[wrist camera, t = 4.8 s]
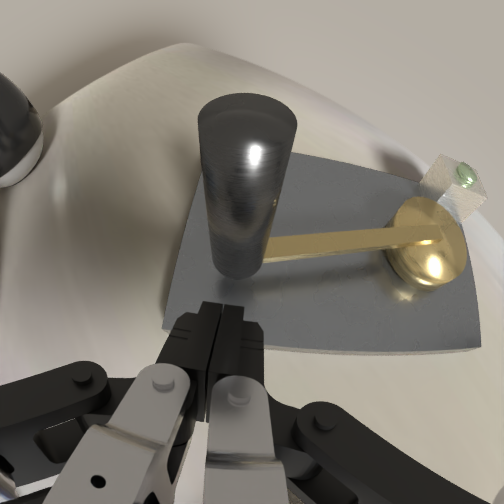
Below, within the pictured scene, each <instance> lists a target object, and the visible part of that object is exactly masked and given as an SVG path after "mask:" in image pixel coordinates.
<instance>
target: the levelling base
mask: <svg viewBox="0 0 504 504" xmlns="http://www.w3.org/2000/svg"><path fill="white" fill-rule="evenodd" d="M418 196H419V197H425V198H429V199H431V200H433V201H435V202H437V203H438V204H440V205H441V206H442V207H444V208H445V209H446V210H447V211H448V212H449V213H450V214H451V215H452V217H453V218H454V219H455V221H456V222H457V224H458V226H459V227H460V229H461V231H462V234H463V236H464V239H465V235H464V231H463V228H462V224H461V223H462V222H463V221H464V220H465V219H467V218H468V217H469V216H470V215H471V214H472V213H473V212H474V211H475V210H476V209H477V208H478V207H479V206H480V205H481V204H482V203H483V202H484V201H485V200H486V199H487V195H486V193H485V190H484V188H483V186H482V183H481V181H480V178H479V176H478V174H477V172H476V170H475V169H473V168H471V167H470V166H469V165H467V164H466V163H464V162H461V163H460V162H458V161H456V160H454V159H451V158H449V157H447V156H444V155H442V154H440V155H439V157H438V158H437V159H436V161H435V162H434V164H433V165H432V166H431V168H430V169H429V170H428V172H427V173H426V174H425V176H424V177H423V178H422V180H421V181H420V182H415V181H412V180H409V179H405V178H402V177H399V176H395V175H392V174H388V173H384V172H381V171H377V170H373V169H369V168H365V167H361V166H357V165H352V164H348V163H344V162H339V161H335V160H330V159H325V158H320V157H315V156H310V155H304V154H299V153H293V152H291V154H290V158H289V162H288V166H287V170H286V174H285V178H284V182H283V186H282V190H281V194H280V198H279V202H278V205H277V209H276V213H275V217H274V221H273V225H272V229H271V233H270V236H269V238H270V237H281V236H292V235H304V234H316V233H327V232H340V231H352V230H365V229H378V228H386V225H387V223H388V222H389V220H390V219H391V218H392V217H393V216H394V214H395V213H396V212H397V211H398V209H399V208H400V207H401V206H402V205H403V203H404V202H405V201H406V200H408V199H409V198H412V197H418ZM465 243H466V239H465ZM466 248H467V261H466V265H465V268H464V270H463V272H462V273H461V274H460V275H459V276H458V277H456V278H455V279H453V280H451V281H450V282H448V283H447V284H445V285H443V286H442V287H440V288H438V289H436V290H434V291H421V290H418V289H416V288H414V287H412V286H410V285H409V284H407V283H406V282H405V281H404V280H403V279H402V278H401V277H400V276H399V275H398V274H397V272H396V271H395V270H394V268H393V267H392V265H391V263H390V261H389V259H388V256H387V253H386V250H385V249H383V250H375V251H367V252H358V253H350V254H341V255H332V256H323V257H314V258H305V259H296V260H287V261H278V262H268V263H262V266H261V268H260V269H259V270H258V271H257V273H255V274H254V275H253V276H251V277H249V278H246V279H241V280H236V279H230V278H227V277H225V276H224V275H222V274H221V273H220V272H219V271H218V270H217V269H216V268H215V266H214V264H213V260H212V253H211V245H210V237H209V229H208V221H207V212H206V203H205V194H204V185H203V175H202V172H201V176H200V179H199V182H198V185H197V189H196V192H195V195H194V199H193V202H192V206H191V209H190V213H189V216H188V220H187V224H186V227H185V231H184V235H183V238H182V242H181V246H180V250H179V254H178V258H177V262H176V266H175V270H174V275H173V279H172V283H171V287H170V292H169V296H168V301H167V306H166V310H165V315H164V320H163V325H162V329H163V330H164V331H166V332H167V333H168V334H170V332H171V330H172V329H173V326H174V324H175V322H176V320H177V318H178V317H180V316H181V315H183V314H184V313H186V312H190V313H196V314H198V311H199V309H200V306H201V304H202V302H203V301H208V302H214V303H221V304H223V308H224V304H228V305H235V306H243V307H245V308H244V317H243V320H244V321H252V322H258V324H259V325H260V327H261V328H262V330H263V331H264V349H271V350H281V351H292V352H304V353H319V354H339V355H423V354H441V353H455V352H466V351H470V350H473V349H476V348H480V347H481V334H480V321H479V311H478V302H477V295H476V288H475V282H474V276H473V271H472V266H471V261H470V256H469V252H468V247H467V243H466Z"/></svg>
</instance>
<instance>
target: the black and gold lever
mask: <svg viewBox="0 0 504 504" xmlns="http://www.w3.org/2000/svg"><path fill="white" fill-rule="evenodd" d="M296 130H297V120H296V117H295V115H294V113H293V112H292V111H291V110H290V109H289V108H288V107H287V106H286V105H284V104H283V103H281V102H280V101H278V100H276V99H273V98H271V97H267V96H264V95H260V94H253V93H235V94H229V95H225V96H221V97H219V98H216V99H214V100H212V101H210V102H209V103H207V104H206V105H205V106H204V107H203V108H202V109H201V111H200V113H199V115H198V131H199V143H200V154H201V165H202V175H203V185H204V194H205V203H206V212H207V221H208V229H209V237H210V245H211V253H212V260H213V264H214V266H215V268H216V269H217V270H218V271H219V272H220V273H221V274H222V275H224V276H225V277H227V278H230V279H236V280H241V279H246V278H249V277H251V276H253V275H254V274H255V273H257V271H258V270H259V269H260V268H261V266H262V263H268V262H278V261H287V260H296V259H305V258H314V257H323V256H332V255H341V254H350V253H358V252H367V251H375V250H383V249H385V250H386V253H387V256H388V259H389V261H390V263H391V265H392V267H393V268H394V270H395V271H396V272H397V274H398V275H399V276H400V277H401V278H402V279H403V280H404V281H405V282H406V283H407V284H409V285H410V286H412V287H414V288H416V289H418V290H421V291H434V290H436V289H438V288H440V287H442V286H443V285H445V284H447V283H448V282H450V281H451V280H453V279H455V278H456V277H458V276H459V275H460V274H461V273H462V272H463V270H464V268H465V265H466V261H467V248H466V243H465V239H464V236H463V234H462V231H461V229H460V227H459V226H458V224H457V222H456V221H455V219H454V218H453V217H452V215H451V214H450V213H449V212H448V211H447V210H446V209H445V208H444V207H442V206H441V205H440V204H438V203H437V202H435V201H433V200H431V199H429V198H425V197H419V196H418V197H412V198H409V199H408V200H406V201H405V202H404V203H403V205H402V206H401V207H400V208H399V209H398V211H397V212H396V213H395V214H394V216H393V217H392V218H391V219H390V220H389V222H388V223H387V225H386V228H378V229H365V230H352V231H340V232H327V233H316V234H304V235H292V236H281V237H270V238H269V236H270V233H271V229H272V225H273V221H274V217H275V213H276V209H277V205H278V202H279V198H280V194H281V190H282V186H283V182H284V178H285V174H286V170H287V166H288V162H289V158H290V154H291V150H292V146H293V142H294V138H295V134H296Z"/></svg>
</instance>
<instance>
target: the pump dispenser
mask: <svg viewBox="0 0 504 504" xmlns="http://www.w3.org/2000/svg"><path fill="white" fill-rule="evenodd" d="M42 127H43V123H42V120H41V118H40V116H39V114H38V113H37V111H36V110H35V108H34V107H33V105H32V104H31V102H30V101H29V100H28V98H27V97H26V96H25V95H24V93H23V92H22V91H21V90H20V89H19V88H18V87H17V86H16V85H15V84H14V83H13V82H12V81H11V80H10V79H9V78H7V77H6V76H5V75H3V74H2V73H0V187H8V186H11V185H14V184H16V183H17V182H19V181H20V180H22V179H23V178H24V177H25V176H26V175H27V174H28V173H29V172H30V171H31V170H32V169H33V167H34V166H35V164H36V163H37V161H38V159H39V157H40V155H41V152H42V148H43V131H42Z"/></svg>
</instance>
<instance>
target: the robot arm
mask: <svg viewBox="0 0 504 504" xmlns="http://www.w3.org/2000/svg"><path fill="white" fill-rule="evenodd" d="M244 308H245V307H243V306H235V305H228V304H224V308H223V304H221V303H214V302H208V301H203V302H202V304H201V306H200V309H199V311H198V314H196V313H190V312H186V313H184V314H183V315H181V316H180V317H178V318H177V320H176V322H175V324H174V326H173V329H172V330H171V332H170V334H169V337H168V338H167V340H166V342H165V344H164V346H163V348H162V350H161V352H160V355H159V357H158V359H157V361H156V363H155V364H153V365H150V366H147V367H145V368H144V369H143V370H141V371H140V373H139V374H138V376H137V377H135V378H108V377H107V374H106V372H105V370H104V369H103V368H102V367H101V366H100V365H98V364H96V363H94V362H90V361H78V362H74V363H71V364H68V365H65V366H62V367H59V368H56V369H53V370H50V371H47V372H44V373H41V374H37V375H34V376H31V377H28V378H25V379H21V380H18V381H15V382H11V383H8V384H5V385H1V386H0V504H174V499H175V490H176V486H177V483H178V480H179V477H180V474H181V471H182V468H183V465H184V462H185V459H186V456H187V453H188V450H189V447H190V444H191V440H192V434H193V431H194V427H195V422H196V421H200V422H204V418H205V413H206V422H207V423H209V429H208V442H207V455H206V463H205V478H204V494H203V504H289V499H288V492H287V488H288V489H289V490H290V491H292V492H293V493H294V494H295V495H296V496H297V497H298V498H299V499H300V500H301V501H302V502H304V503H305V504H490V503H488V502H486V501H484V500H482V499H480V498H478V497H476V496H475V495H473V494H471V493H469V492H467V491H465V490H464V489H462V488H460V487H458V486H456V485H455V484H453V483H451V482H450V481H448V480H446V479H445V478H443V477H441V476H440V475H438V474H436V473H435V472H433V471H431V470H430V469H428V468H427V467H425V466H423V465H422V464H420V463H419V462H417V461H416V460H414V459H413V458H411V457H409V456H408V455H406V454H405V453H403V452H402V451H400V450H399V449H398V448H396V447H395V446H393V445H392V444H390V443H389V442H387V441H386V440H384V439H383V438H382V437H380V436H379V435H377V434H376V433H375V432H373V431H372V430H370V429H369V428H368V427H366V426H365V425H364V424H362V423H361V422H359V421H358V420H357V419H355V418H354V417H353V416H351V415H350V414H349V413H347V412H346V411H345V410H343V409H342V408H341V407H339V406H337V405H335V404H332V403H329V402H322V401H321V402H312V403H309V404H307V405H305V406H304V407H302V408H301V409H297V408H294V407H291V406H287V405H285V404H282V403H280V402H278V401H276V400H275V399H273V398H272V397H271V396H270V395H269V394H268V392H267V391H266V389H265V386H264V331H263V330H262V328H261V327H260V325H259V324H258V322H252V321H244V320H243V317H244ZM74 418H75V419H74ZM71 419H72V420H71ZM68 420H70V421H68ZM66 421H67V422H66ZM63 422H64V423H63ZM60 423H62V424H60ZM58 424H59V425H58ZM55 425H56V426H55ZM52 426H53V427H52ZM49 427H51V428H49ZM46 428H48V429H46ZM57 474H60V475H59V476H58V478H57V480H56V481H55V483H54V485H53V486H52V487H48V488H45V489H42V490H39V491H36V492H34V493H31V494H28V495H25V496H21V497H18V493H17V491H16V487H19V486H23V485H26V484H30V483H33V482H36V481H39V480H42V479H45V478H48V477H51V476H54V475H57Z"/></svg>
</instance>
